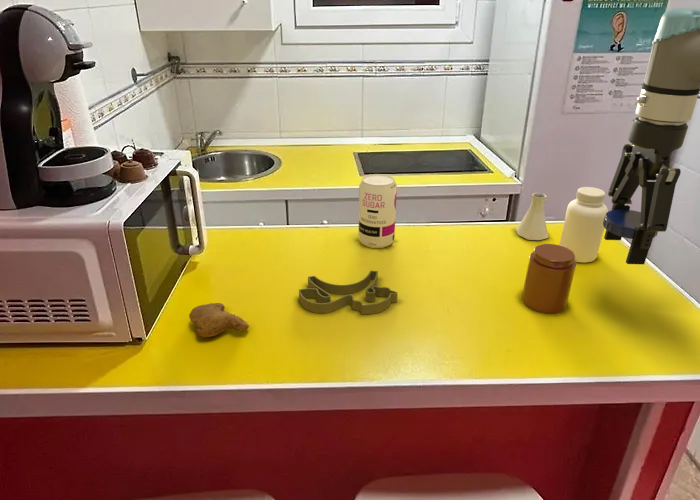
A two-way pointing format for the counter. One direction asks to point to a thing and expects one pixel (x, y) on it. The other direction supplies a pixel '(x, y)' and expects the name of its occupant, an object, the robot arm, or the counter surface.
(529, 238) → the flask
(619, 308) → the counter surface
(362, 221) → the supplement can
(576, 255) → the pill bottle
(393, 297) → the cookie cutter
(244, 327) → the brown irregular lump
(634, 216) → the jam lid
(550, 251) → the jam jar
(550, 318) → the counter surface
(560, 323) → the counter surface
